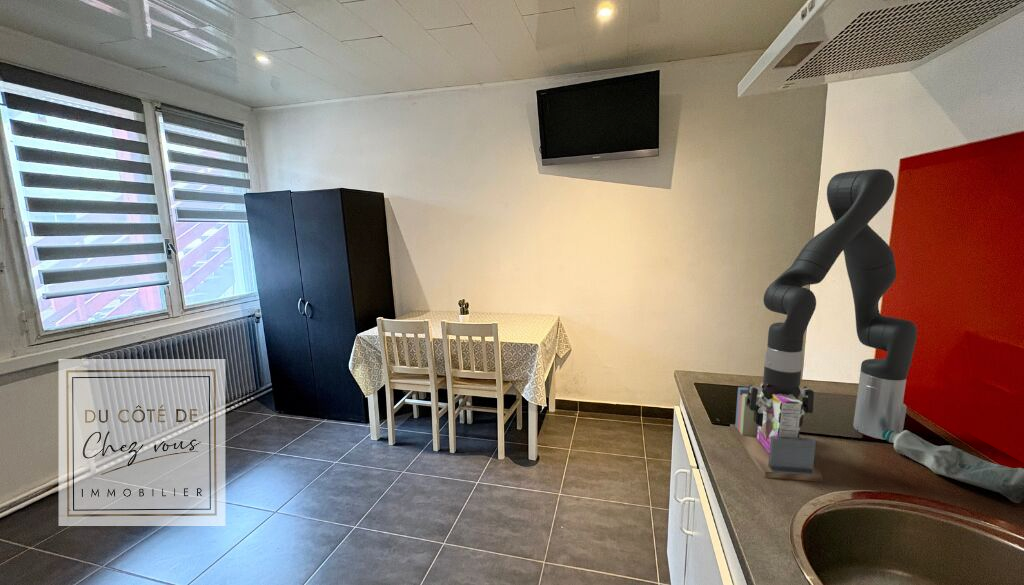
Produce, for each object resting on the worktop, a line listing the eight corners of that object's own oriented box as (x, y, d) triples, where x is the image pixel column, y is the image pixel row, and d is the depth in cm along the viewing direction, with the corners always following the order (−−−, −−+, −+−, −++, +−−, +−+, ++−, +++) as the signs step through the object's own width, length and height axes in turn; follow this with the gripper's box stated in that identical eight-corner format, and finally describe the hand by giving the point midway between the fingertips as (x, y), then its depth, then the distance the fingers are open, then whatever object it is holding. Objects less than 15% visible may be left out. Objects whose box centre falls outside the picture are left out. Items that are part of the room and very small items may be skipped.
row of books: (773, 428, 110) (776, 388, 108) (782, 437, 105) (786, 396, 103) (735, 426, 112) (738, 387, 110) (742, 435, 107) (745, 394, 105)
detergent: (1047, 497, 82) (898, 437, 105) (1054, 468, 81) (901, 413, 104) (1017, 520, 78) (868, 452, 101) (1024, 490, 76) (871, 428, 99)
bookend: (809, 469, 92) (813, 438, 90) (815, 475, 90) (818, 443, 88) (768, 466, 93) (770, 436, 92) (772, 472, 91) (775, 441, 90)
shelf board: (774, 431, 111) (775, 426, 111) (821, 481, 90) (822, 475, 89) (729, 428, 113) (730, 424, 113) (765, 477, 92) (765, 471, 92)
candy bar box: (754, 438, 105) (759, 382, 102) (774, 439, 104) (780, 382, 101) (774, 463, 94) (780, 401, 91) (797, 465, 93) (804, 402, 91)
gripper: (806, 360, 98) (800, 420, 100) (745, 359, 100) (740, 417, 103) (824, 372, 90) (817, 435, 93) (758, 370, 93) (752, 432, 96)
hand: (777, 425), depth 98 cm, fingers open, 8 cm apart
